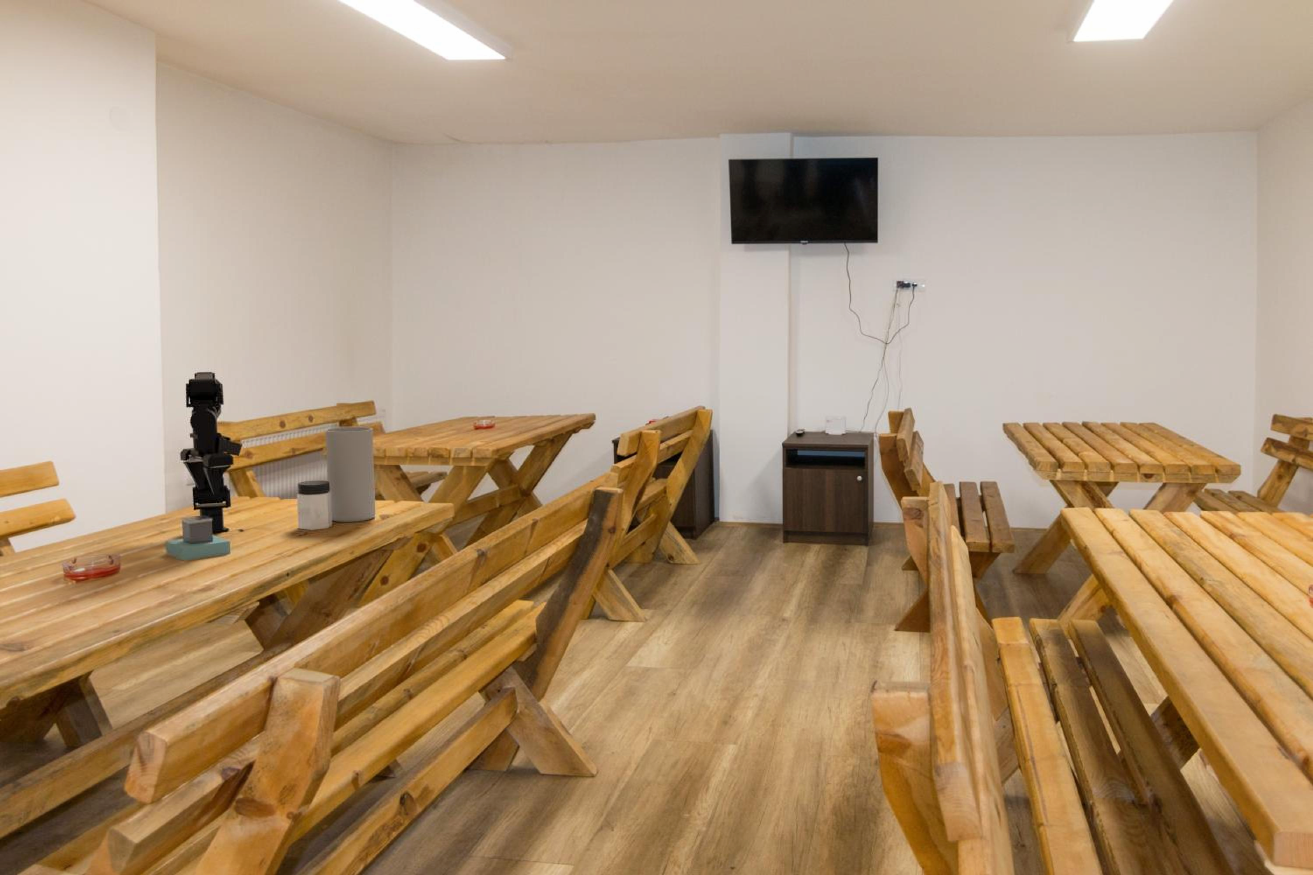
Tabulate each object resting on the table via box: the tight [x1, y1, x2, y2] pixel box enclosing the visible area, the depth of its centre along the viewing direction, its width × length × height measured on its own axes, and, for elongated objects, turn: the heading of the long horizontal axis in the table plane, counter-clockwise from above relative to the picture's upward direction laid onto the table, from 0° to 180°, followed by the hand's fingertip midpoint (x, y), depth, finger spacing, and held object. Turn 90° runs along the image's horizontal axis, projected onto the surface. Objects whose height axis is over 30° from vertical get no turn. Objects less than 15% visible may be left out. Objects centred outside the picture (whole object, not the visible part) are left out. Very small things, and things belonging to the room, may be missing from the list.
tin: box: [180, 515, 214, 545], centre depth 261 cm, size 5×5×6 cm
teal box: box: [165, 534, 231, 561], centre depth 262 cm, size 11×11×4 cm
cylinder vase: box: [324, 426, 376, 523], centre depth 304 cm, size 12×12×25 cm
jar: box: [296, 480, 333, 531], centre depth 293 cm, size 9×8×12 cm
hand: (208, 491), depth 272 cm, fingers open, 9 cm apart
